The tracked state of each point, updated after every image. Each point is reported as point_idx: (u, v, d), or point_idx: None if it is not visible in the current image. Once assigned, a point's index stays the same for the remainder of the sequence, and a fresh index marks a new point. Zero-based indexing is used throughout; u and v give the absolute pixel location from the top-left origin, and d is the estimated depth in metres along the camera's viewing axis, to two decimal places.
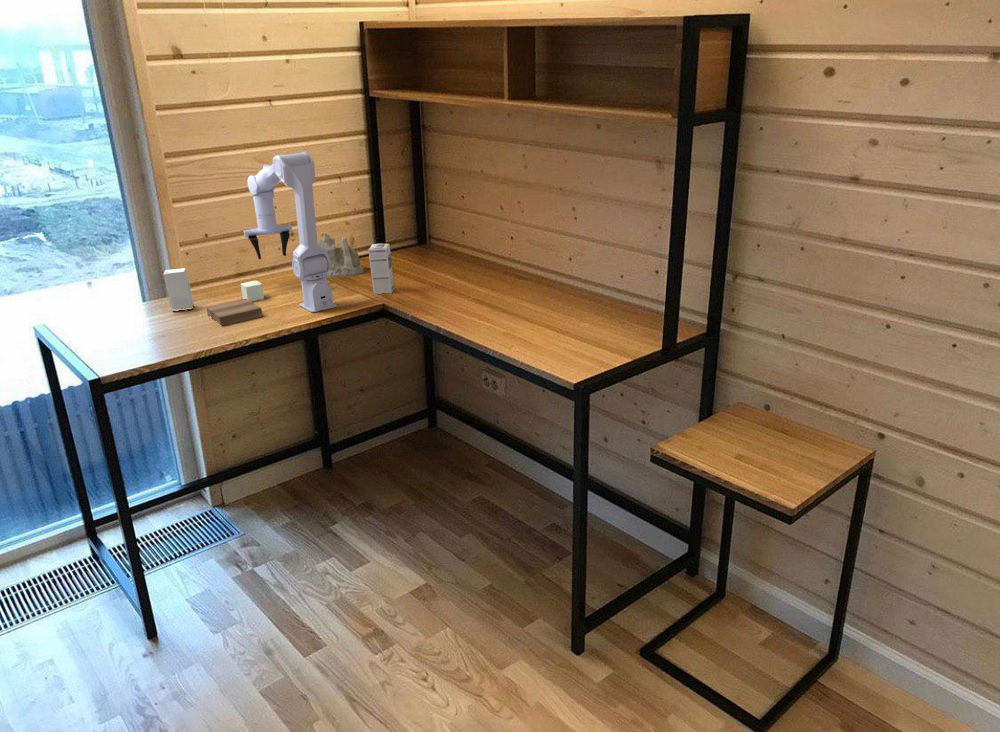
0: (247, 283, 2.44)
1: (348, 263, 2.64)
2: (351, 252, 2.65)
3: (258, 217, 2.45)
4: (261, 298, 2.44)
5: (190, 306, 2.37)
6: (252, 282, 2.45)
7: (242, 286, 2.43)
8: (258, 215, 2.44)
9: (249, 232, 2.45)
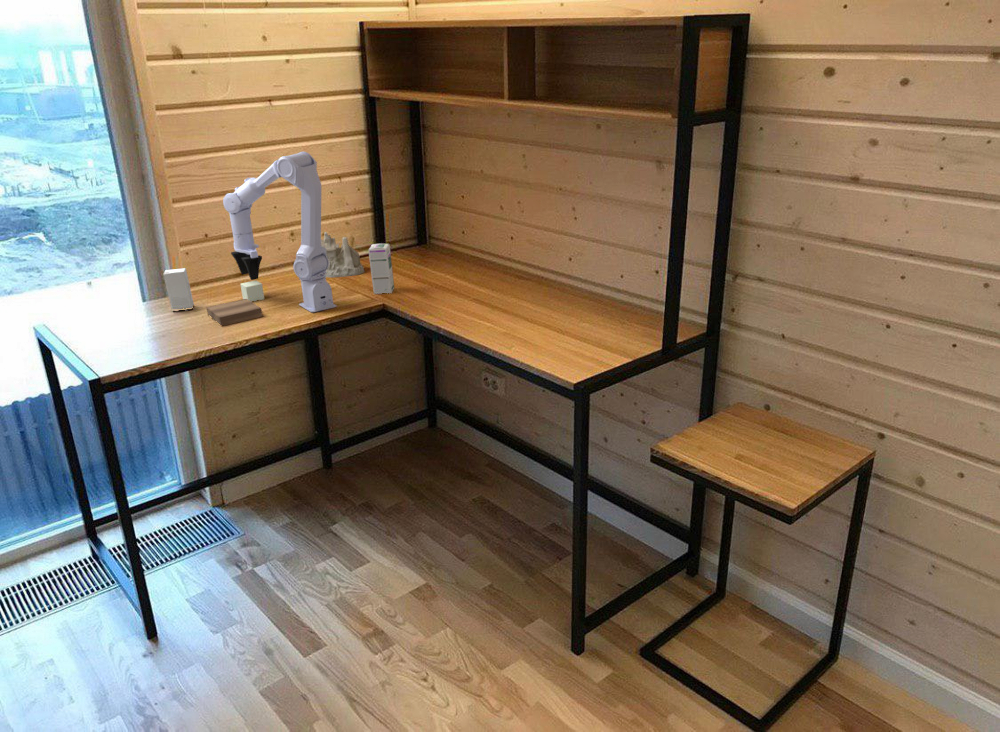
0: (247, 283, 2.44)
1: (349, 263, 2.64)
2: (352, 252, 2.65)
3: None
4: (261, 298, 2.44)
5: (190, 306, 2.37)
6: (252, 282, 2.45)
7: (242, 286, 2.43)
8: None
9: (234, 245, 2.43)
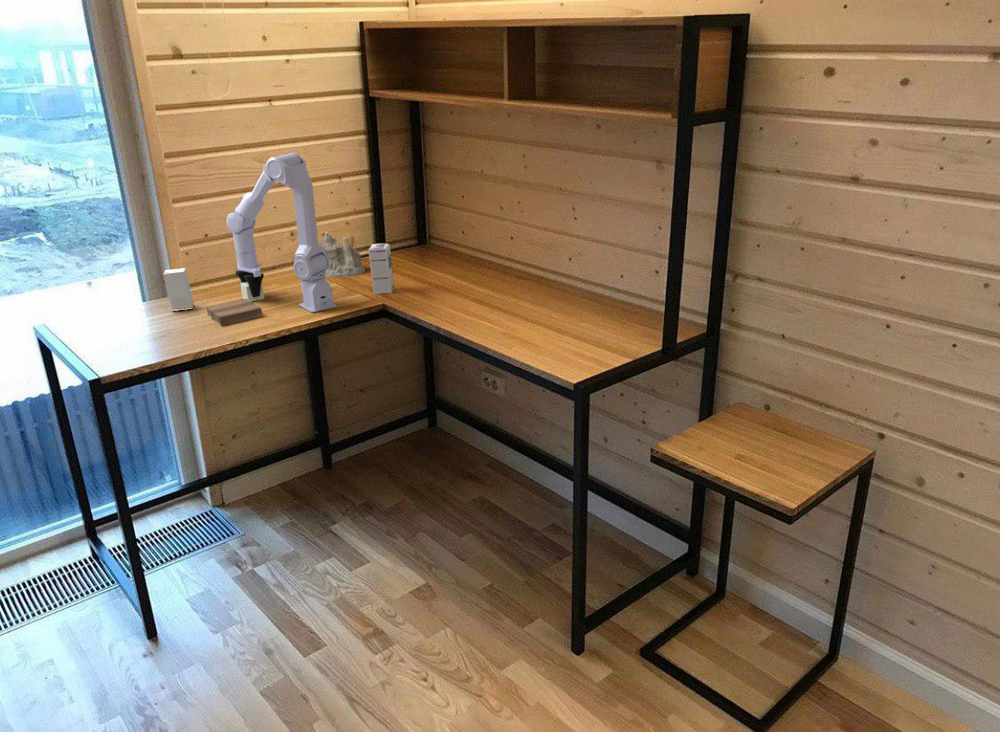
0: (247, 283, 2.44)
1: (350, 263, 2.64)
2: (352, 252, 2.65)
3: None
4: (261, 298, 2.44)
5: (190, 306, 2.37)
6: None
7: (242, 286, 2.43)
8: None
9: (237, 263, 2.45)
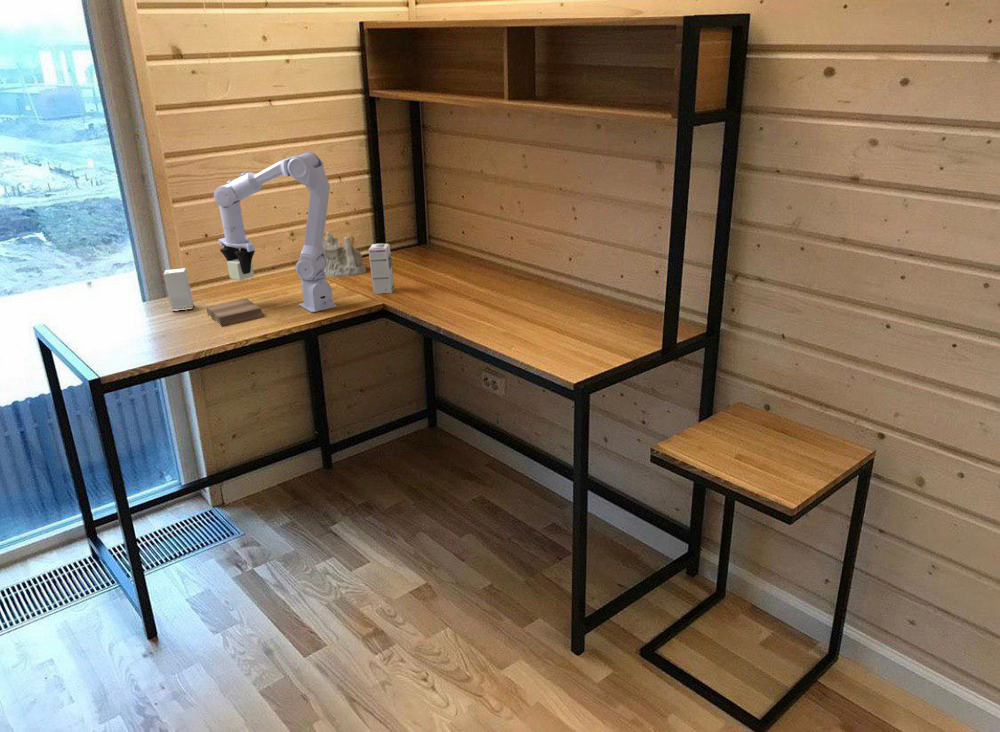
0: (234, 261, 2.34)
1: (351, 263, 2.65)
2: (354, 252, 2.65)
3: None
4: (251, 275, 2.36)
5: (190, 306, 2.37)
6: None
7: (230, 264, 2.34)
8: None
9: (221, 241, 2.35)
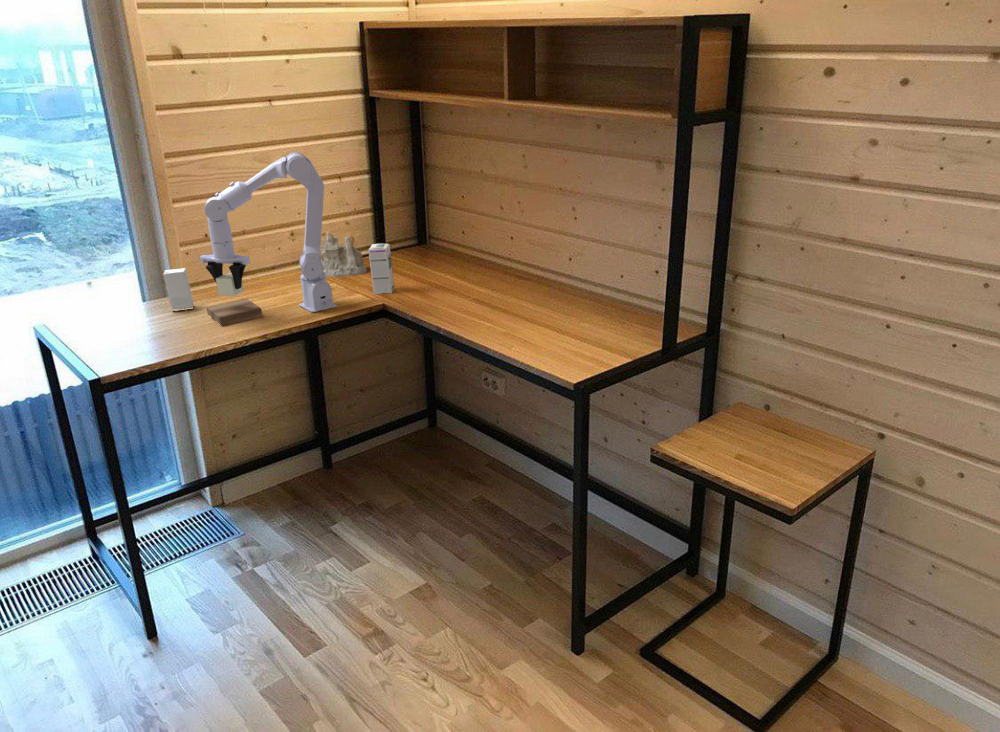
0: (224, 277, 2.26)
1: (352, 263, 2.65)
2: (354, 251, 2.65)
3: (211, 243, 2.22)
4: (241, 290, 2.29)
5: (190, 306, 2.37)
6: (226, 275, 2.28)
7: (221, 280, 2.25)
8: (211, 241, 2.22)
9: (204, 258, 2.25)
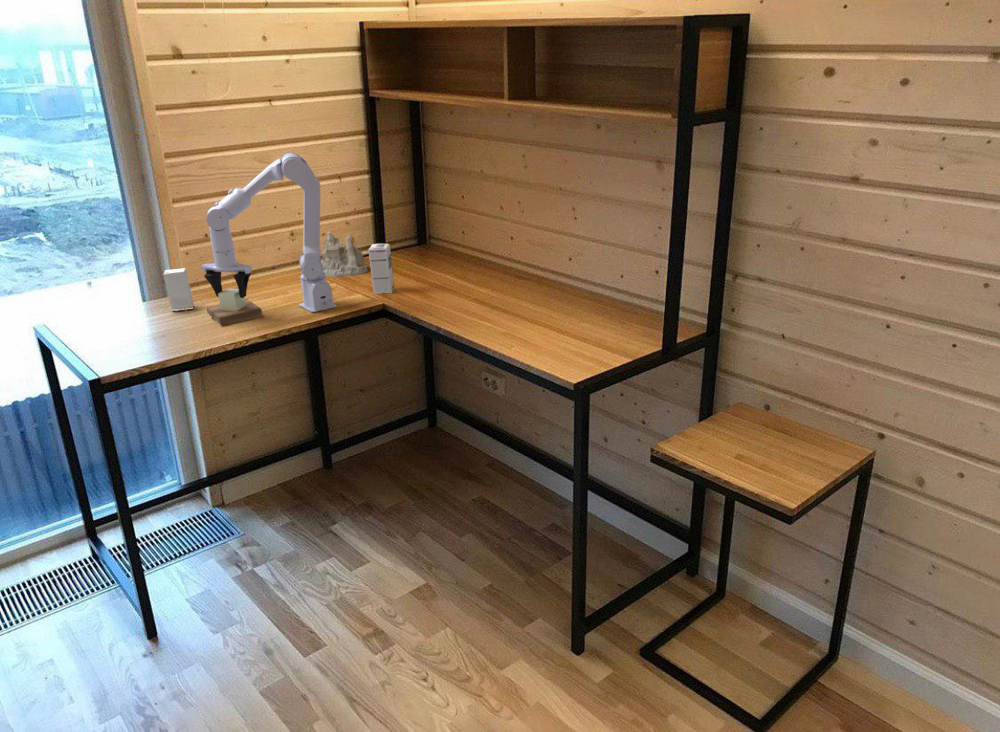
0: (226, 292, 2.28)
1: (352, 263, 2.65)
2: (355, 251, 2.65)
3: (213, 252, 2.23)
4: (243, 304, 2.31)
5: (190, 306, 2.37)
6: (228, 290, 2.29)
7: (223, 295, 2.27)
8: None
9: (205, 267, 2.26)
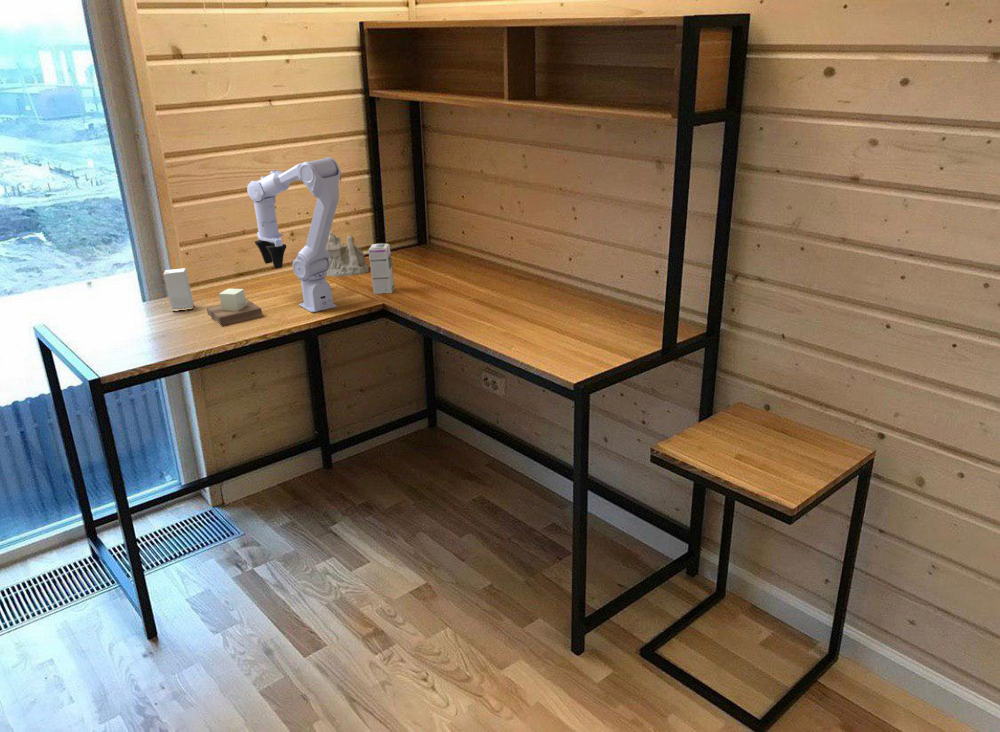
0: (227, 292, 2.27)
1: (354, 262, 2.65)
2: (357, 251, 2.66)
3: None
4: (244, 304, 2.31)
5: (190, 306, 2.37)
6: (229, 290, 2.29)
7: (224, 295, 2.26)
8: None
9: (258, 234, 2.41)
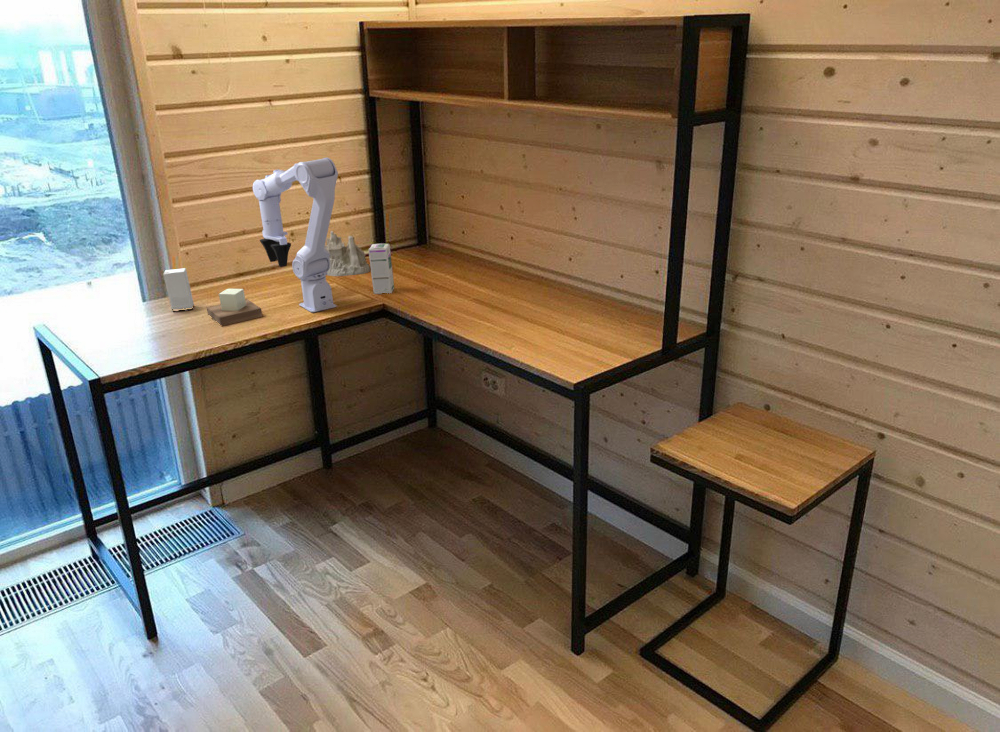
0: (227, 292, 2.27)
1: (355, 262, 2.65)
2: (358, 251, 2.66)
3: None
4: (244, 304, 2.31)
5: (190, 306, 2.37)
6: (229, 290, 2.29)
7: (224, 295, 2.26)
8: None
9: (263, 232, 2.43)
